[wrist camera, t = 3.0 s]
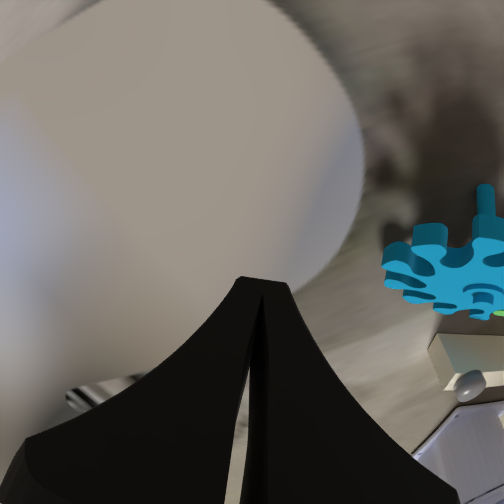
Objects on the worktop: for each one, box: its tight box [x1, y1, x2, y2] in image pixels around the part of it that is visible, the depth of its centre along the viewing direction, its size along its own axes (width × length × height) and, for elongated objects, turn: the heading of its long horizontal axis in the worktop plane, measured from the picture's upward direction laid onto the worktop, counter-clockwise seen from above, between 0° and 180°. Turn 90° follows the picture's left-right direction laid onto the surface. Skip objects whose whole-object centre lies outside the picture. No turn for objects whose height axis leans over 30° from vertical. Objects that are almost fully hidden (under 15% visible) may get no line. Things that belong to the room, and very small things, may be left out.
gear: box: [381, 184, 504, 320], centre depth 12 cm, size 11×6×10 cm
